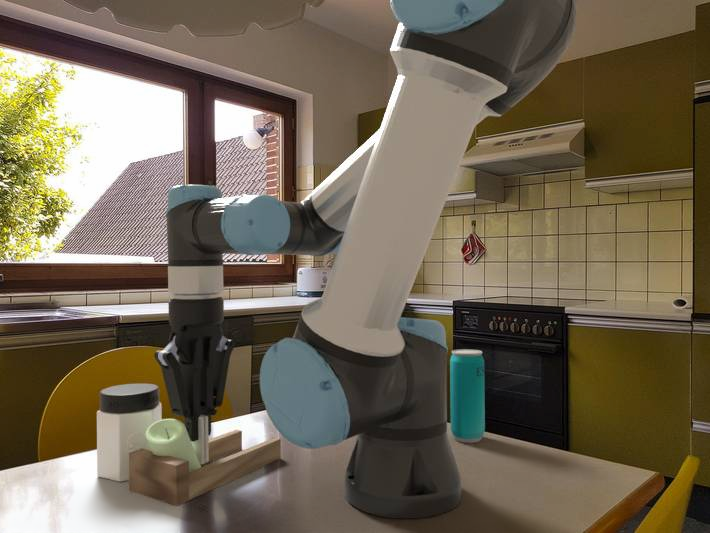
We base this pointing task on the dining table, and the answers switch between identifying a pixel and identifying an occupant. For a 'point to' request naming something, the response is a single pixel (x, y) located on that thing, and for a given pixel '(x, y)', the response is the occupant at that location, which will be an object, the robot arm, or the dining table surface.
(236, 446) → the channel
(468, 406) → the beverage can
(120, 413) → the jar
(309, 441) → the robot arm
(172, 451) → the candle
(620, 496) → the dining table surface
